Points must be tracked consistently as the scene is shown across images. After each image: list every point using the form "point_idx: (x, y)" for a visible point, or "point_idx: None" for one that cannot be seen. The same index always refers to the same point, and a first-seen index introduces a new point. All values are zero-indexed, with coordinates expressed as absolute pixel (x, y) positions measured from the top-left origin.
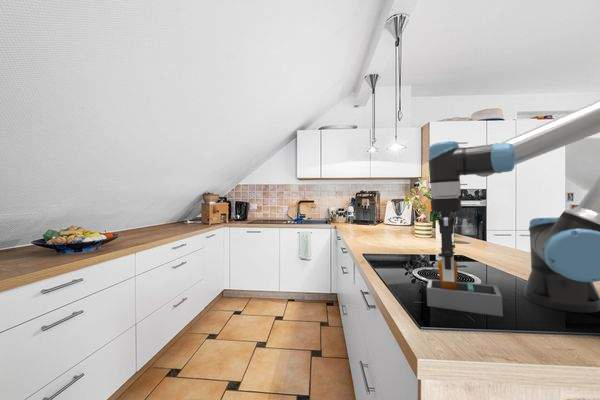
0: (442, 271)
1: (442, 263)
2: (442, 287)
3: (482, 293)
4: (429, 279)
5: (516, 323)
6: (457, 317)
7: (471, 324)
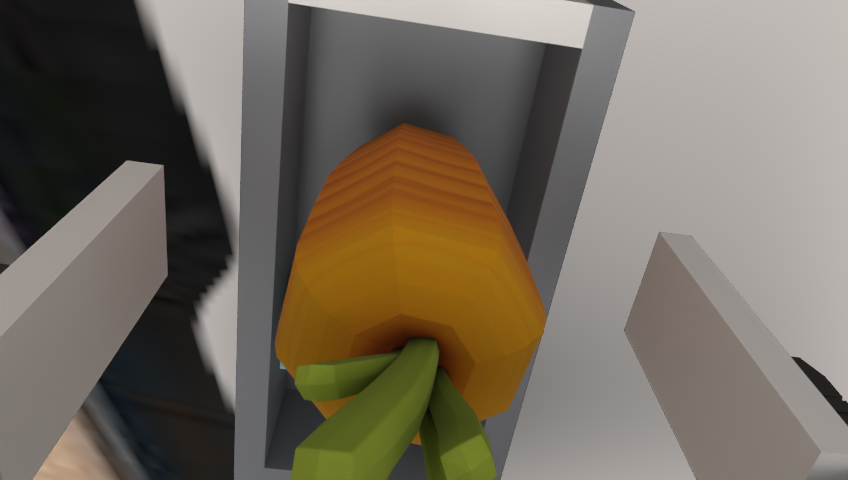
0: (69, 212)
1: (5, 280)
2: (394, 129)
3: (259, 399)
4: (619, 17)
5: (192, 419)
6: (136, 146)
7: (57, 210)
